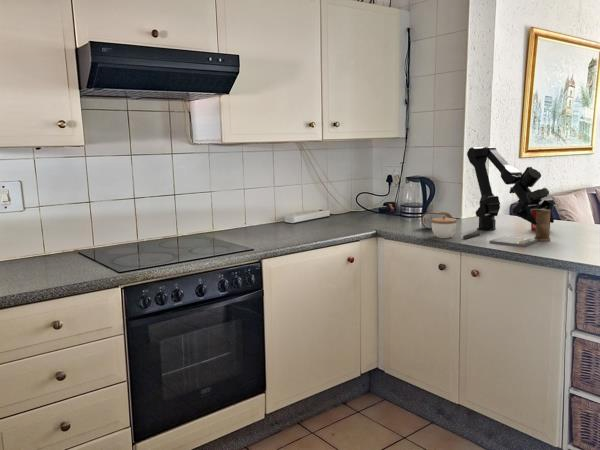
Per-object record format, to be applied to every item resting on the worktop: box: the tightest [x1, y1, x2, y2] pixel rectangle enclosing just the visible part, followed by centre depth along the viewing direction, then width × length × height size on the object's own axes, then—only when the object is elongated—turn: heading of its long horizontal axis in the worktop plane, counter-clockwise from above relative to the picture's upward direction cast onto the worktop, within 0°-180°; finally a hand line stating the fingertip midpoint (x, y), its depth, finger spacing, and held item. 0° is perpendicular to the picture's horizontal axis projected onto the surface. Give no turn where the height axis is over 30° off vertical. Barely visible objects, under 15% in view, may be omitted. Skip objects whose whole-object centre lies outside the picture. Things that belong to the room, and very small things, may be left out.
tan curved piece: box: [421, 210, 453, 230], centre depth 254 cm, size 15×3×8 cm, turn 54°
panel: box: [489, 235, 538, 248], centre depth 217 cm, size 14×13×1 cm
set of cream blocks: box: [519, 237, 532, 244], centre depth 212 cm, size 1×8×1 cm, turn 135°
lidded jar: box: [431, 216, 457, 239], centre depth 234 cm, size 11×11×9 cm
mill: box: [533, 209, 551, 243], centre depth 219 cm, size 6×6×12 cm
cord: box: [462, 231, 481, 240], centre depth 231 cm, size 14×2×2 cm, turn 135°
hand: (544, 223), depth 218 cm, fingers open, 9 cm apart
